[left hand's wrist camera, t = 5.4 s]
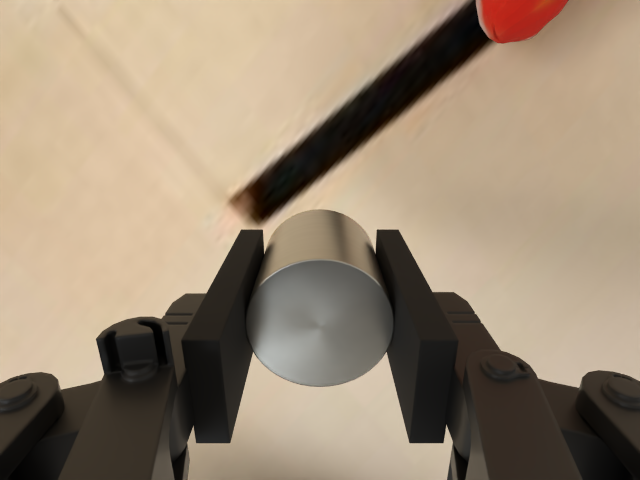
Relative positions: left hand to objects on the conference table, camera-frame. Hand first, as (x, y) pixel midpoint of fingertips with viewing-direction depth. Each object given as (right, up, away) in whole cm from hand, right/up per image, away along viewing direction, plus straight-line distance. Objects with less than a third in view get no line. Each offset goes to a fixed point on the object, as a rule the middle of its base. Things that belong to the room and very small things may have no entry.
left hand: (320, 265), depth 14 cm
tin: (0, 0, 0) cm, 0 cm away
